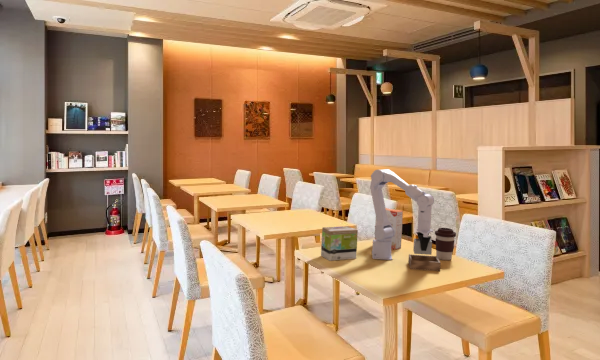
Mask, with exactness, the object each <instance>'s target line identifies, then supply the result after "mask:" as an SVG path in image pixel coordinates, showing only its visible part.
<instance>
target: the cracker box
mask: <svg viewBox="0 0 600 360" xmlns="http://www.w3.org/2000/svg"><path fill="white" fill-rule="evenodd" d="M385 208H386V213H387V218H388V220H389V221H390V222H391V224H392V227H393V228H394V231H395V234H394V236H393V237H392V244H391V250H398V249H399V250H400V249H401V248H402V238H403V235H402V233H403V215H404V214H403V212H404V211H403V210H399V209H394V208H389V207H385ZM374 223H375V224H374V226H375V225H376V223H377V219H376V218H375V222H374ZM374 240H376V237H375V236H374Z"/></svg>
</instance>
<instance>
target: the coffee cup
mask: <svg viewBox="0 0 600 360" xmlns="http://www.w3.org/2000/svg"><path fill="white" fill-rule="evenodd" d="M434 235H435V251H436V253H435V254H436V255H435V256H437V258H438V259H439V260H441V261H451V260H452V257H453V252H454V247H455V237H456V236H457V233H456V232H455V231H454V230H453V228H449V227H438V229H437V230H435V231H434Z"/></svg>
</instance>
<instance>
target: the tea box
mask: <svg viewBox="0 0 600 360" xmlns="http://www.w3.org/2000/svg"><path fill="white" fill-rule="evenodd" d="M321 229H322V230H321V249H320V250H321V251H320V256H321V257H323V258H324V259H325V260H327V261H329V262H330V261H340V260H341V261H342V260H352V259H354V260H355V259H357V253H358V252H357V251H358V229H356V228H355V227H351V226H349V225H345V226H328V227H323V226H322V228H321Z"/></svg>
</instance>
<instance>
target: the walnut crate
mask: <svg viewBox="0 0 600 360" xmlns="http://www.w3.org/2000/svg"><path fill="white" fill-rule="evenodd" d="M408 266H409V268H410V270H416V271H417V270H418V271H432V272H440V271H441V261H440V259H438V258H437V256H436V255H426V254H410V253H409V254H408Z"/></svg>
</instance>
